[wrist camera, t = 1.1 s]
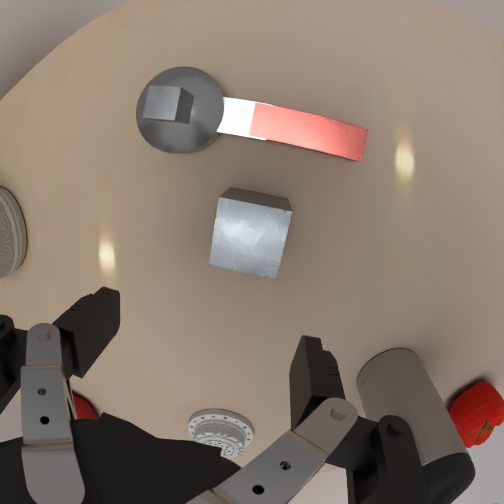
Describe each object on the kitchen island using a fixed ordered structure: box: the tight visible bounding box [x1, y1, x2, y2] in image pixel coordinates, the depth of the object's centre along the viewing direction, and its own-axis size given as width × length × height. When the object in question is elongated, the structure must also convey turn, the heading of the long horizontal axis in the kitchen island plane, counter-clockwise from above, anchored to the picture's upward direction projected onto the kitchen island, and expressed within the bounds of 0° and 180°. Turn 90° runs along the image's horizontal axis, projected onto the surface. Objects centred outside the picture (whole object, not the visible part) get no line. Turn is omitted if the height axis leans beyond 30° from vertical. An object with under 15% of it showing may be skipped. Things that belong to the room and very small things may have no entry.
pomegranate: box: [72, 394, 97, 419], centre depth 38 cm, size 10×10×9 cm
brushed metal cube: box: [209, 187, 292, 279], centre depth 26 cm, size 6×6×6 cm
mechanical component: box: [188, 409, 254, 459], centre depth 38 cm, size 10×4×10 cm
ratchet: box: [136, 67, 368, 162], centre depth 23 cm, size 20×8×7 cm, turn 79°
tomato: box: [449, 382, 504, 448], centre depth 32 cm, size 11×12×9 cm
